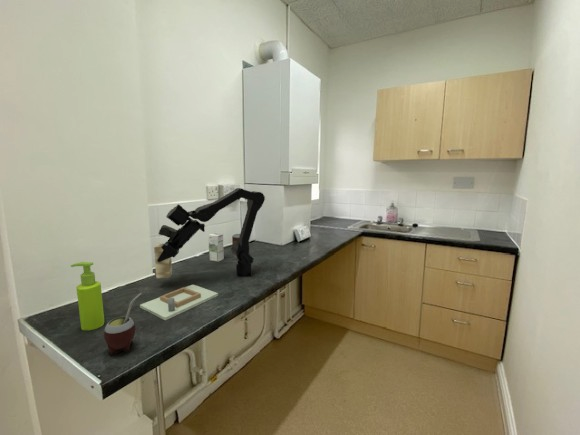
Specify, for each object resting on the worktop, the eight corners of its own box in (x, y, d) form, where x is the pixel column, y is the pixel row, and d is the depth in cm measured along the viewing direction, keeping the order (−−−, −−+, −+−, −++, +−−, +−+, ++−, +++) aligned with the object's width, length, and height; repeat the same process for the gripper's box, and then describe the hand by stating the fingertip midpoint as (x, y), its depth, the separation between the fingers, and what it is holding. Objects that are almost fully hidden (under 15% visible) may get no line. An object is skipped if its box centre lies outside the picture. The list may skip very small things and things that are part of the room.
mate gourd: (99, 353, 72) (94, 299, 70) (128, 337, 79) (123, 287, 77) (118, 361, 69) (113, 305, 67) (146, 343, 76) (142, 292, 74)
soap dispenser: (85, 320, 87) (78, 260, 84) (108, 319, 88) (102, 259, 85) (72, 331, 82) (64, 266, 78) (97, 330, 82) (90, 266, 79)
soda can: (231, 257, 155) (230, 235, 153) (234, 253, 162) (234, 233, 160) (243, 257, 154) (243, 236, 152) (246, 254, 161) (246, 233, 159)
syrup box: (224, 258, 151) (223, 233, 149) (218, 262, 146) (217, 235, 144) (215, 257, 153) (214, 232, 151) (208, 260, 148) (207, 234, 145)
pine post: (172, 273, 117) (170, 243, 115) (169, 277, 112) (167, 246, 110) (159, 273, 116) (157, 243, 114) (156, 278, 111) (154, 247, 109)
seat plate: (193, 286, 114) (192, 275, 114) (218, 295, 106) (217, 283, 105) (140, 307, 96) (138, 294, 95) (165, 320, 88) (164, 305, 87)
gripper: (175, 215, 120) (150, 240, 120) (165, 222, 102) (135, 252, 102) (195, 232, 123) (170, 257, 123) (189, 242, 105) (159, 272, 105)
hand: (159, 259), depth 113 cm, fingers closed on pine post, 5 cm apart
